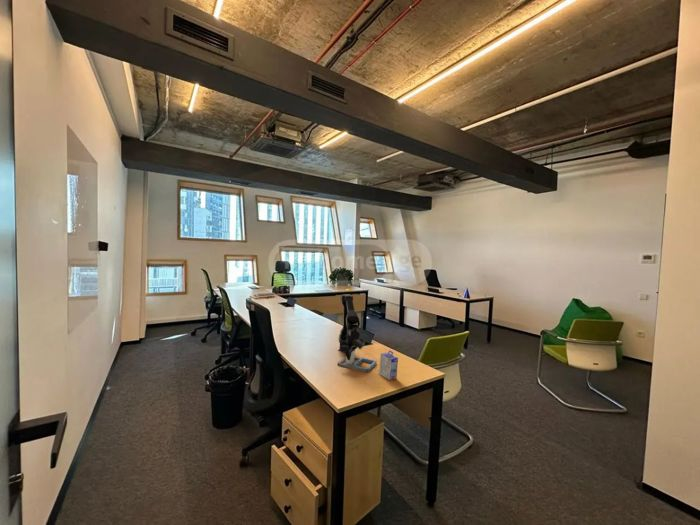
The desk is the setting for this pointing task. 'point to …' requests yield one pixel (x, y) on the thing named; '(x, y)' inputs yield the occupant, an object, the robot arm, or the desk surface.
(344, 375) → the desk surface
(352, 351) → the cord plug
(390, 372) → the ink cartridge box
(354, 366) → the frame
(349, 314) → the robot arm
